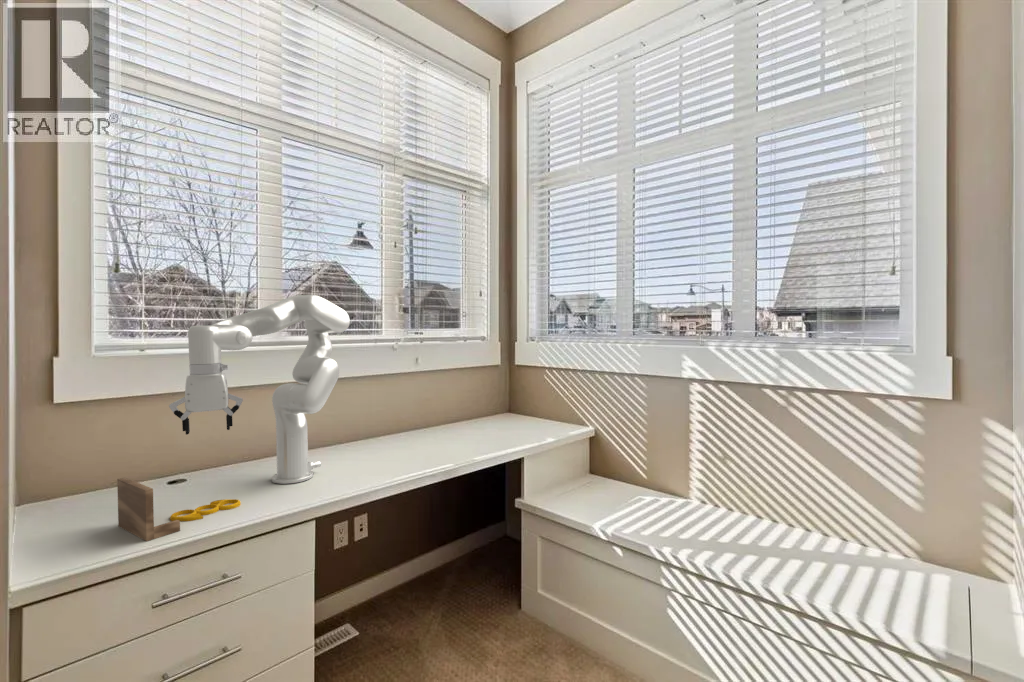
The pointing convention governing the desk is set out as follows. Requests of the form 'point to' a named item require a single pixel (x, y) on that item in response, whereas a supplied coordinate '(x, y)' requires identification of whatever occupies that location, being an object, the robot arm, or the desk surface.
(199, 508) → the yellow triple ring ornament
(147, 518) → the display stand
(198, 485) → the desk surface
